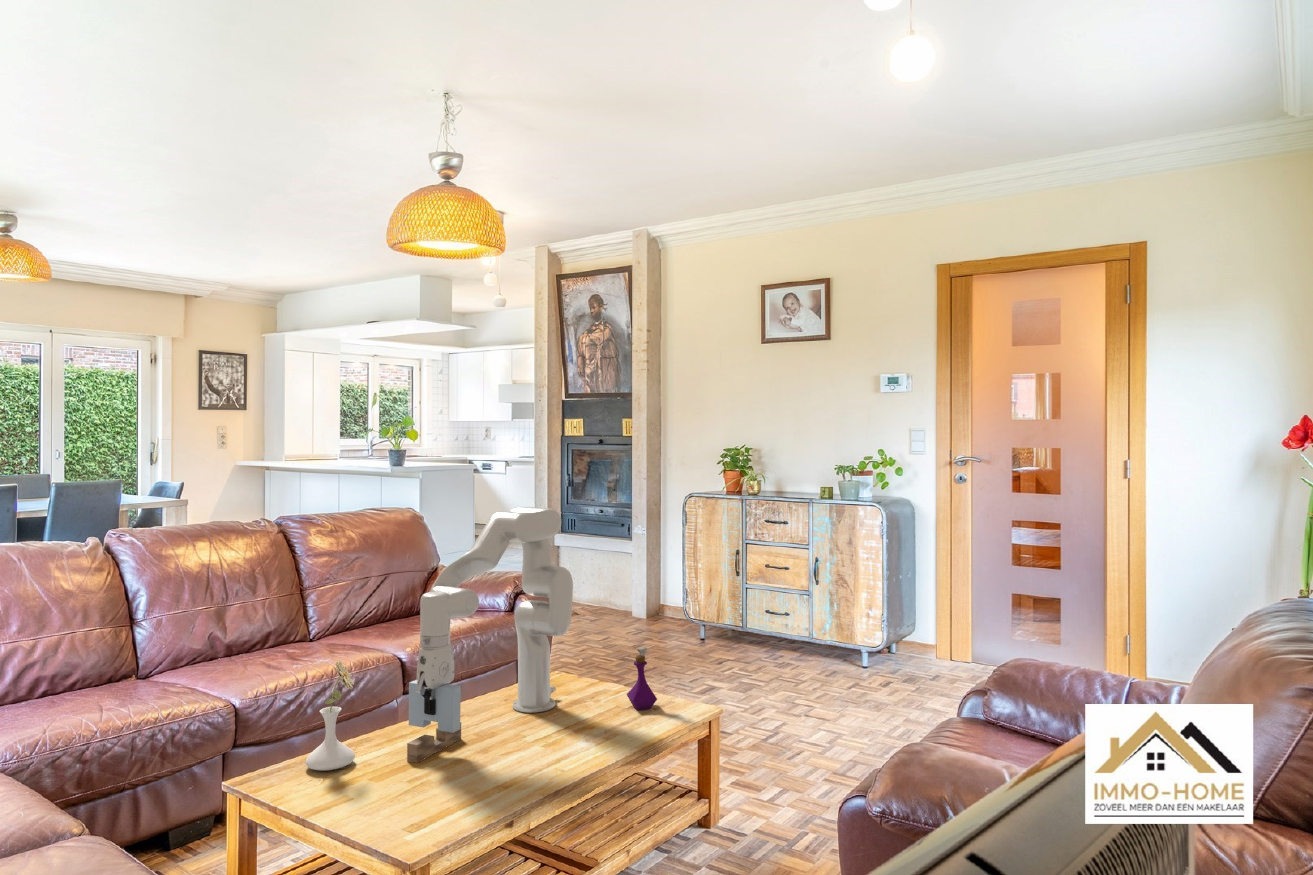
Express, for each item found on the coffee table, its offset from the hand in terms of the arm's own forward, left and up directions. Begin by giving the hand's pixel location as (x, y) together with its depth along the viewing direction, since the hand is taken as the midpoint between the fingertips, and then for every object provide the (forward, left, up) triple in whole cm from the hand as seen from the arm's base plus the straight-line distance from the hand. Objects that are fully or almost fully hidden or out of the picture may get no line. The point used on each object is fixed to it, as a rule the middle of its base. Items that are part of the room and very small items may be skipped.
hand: (434, 711), depth 216 cm
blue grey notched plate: (0, 0, -4) cm, 4 cm away
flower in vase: (+18, -17, -10) cm, 27 cm away
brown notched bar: (0, 0, -10) cm, 10 cm away
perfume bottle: (-52, +35, -10) cm, 64 cm away
